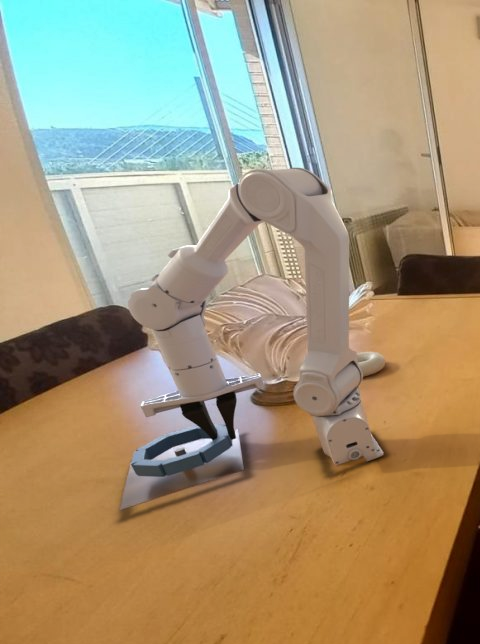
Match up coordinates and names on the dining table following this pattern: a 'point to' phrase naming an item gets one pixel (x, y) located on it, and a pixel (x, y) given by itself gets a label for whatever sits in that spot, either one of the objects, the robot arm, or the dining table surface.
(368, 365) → the donut
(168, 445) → the ring
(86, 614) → the dining table surface
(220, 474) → the platform
